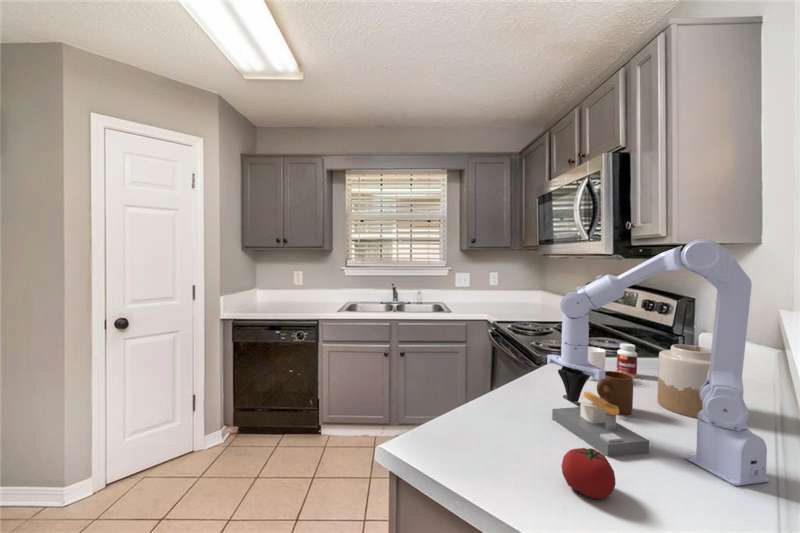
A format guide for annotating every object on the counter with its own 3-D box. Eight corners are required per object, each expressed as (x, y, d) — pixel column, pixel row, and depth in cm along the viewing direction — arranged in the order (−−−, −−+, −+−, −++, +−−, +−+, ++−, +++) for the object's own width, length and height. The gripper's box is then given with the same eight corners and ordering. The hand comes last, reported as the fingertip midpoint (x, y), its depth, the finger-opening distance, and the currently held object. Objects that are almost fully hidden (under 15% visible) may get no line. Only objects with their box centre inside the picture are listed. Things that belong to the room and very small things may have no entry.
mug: (612, 421, 90) (613, 383, 90) (583, 410, 96) (584, 374, 96) (638, 412, 96) (639, 376, 96) (609, 402, 102) (610, 369, 102)
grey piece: (649, 452, 74) (650, 423, 74) (607, 456, 72) (608, 427, 72) (586, 416, 92) (587, 392, 92) (552, 418, 90) (552, 394, 90)
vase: (684, 419, 91) (686, 354, 91) (645, 397, 107) (646, 341, 107) (745, 422, 91) (748, 356, 91) (697, 399, 106) (699, 343, 106)
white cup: (574, 375, 127) (575, 347, 126) (589, 373, 130) (590, 345, 130) (594, 382, 119) (595, 352, 119) (610, 380, 123) (611, 350, 123)
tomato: (597, 477, 65) (598, 437, 65) (626, 507, 57) (627, 462, 57) (553, 477, 65) (554, 437, 65) (577, 507, 57) (578, 461, 57)
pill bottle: (616, 376, 127) (617, 345, 127) (615, 371, 133) (616, 342, 133) (637, 379, 125) (638, 347, 124) (635, 374, 130) (636, 344, 130)
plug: (607, 422, 83) (608, 409, 83) (592, 423, 82) (593, 410, 82) (571, 401, 95) (571, 390, 95) (557, 402, 94) (558, 391, 94)
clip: (621, 414, 78) (621, 409, 78) (609, 414, 78) (609, 409, 78) (592, 396, 89) (592, 391, 89) (581, 396, 88) (581, 391, 88)
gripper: (615, 348, 80) (613, 410, 80) (562, 336, 93) (560, 388, 93) (593, 351, 77) (591, 414, 77) (541, 337, 90) (540, 391, 90)
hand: (573, 400), depth 85 cm, fingers closed
